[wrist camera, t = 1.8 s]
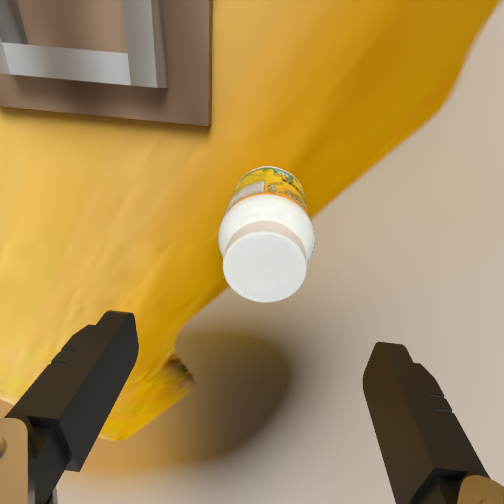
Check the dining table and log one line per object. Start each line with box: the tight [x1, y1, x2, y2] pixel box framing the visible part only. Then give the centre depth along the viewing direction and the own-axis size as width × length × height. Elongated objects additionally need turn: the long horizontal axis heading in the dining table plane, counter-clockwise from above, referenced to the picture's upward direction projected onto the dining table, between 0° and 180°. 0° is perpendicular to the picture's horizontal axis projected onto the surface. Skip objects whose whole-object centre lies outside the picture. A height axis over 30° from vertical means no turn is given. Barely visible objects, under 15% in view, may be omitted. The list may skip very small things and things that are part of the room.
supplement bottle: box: [218, 166, 315, 303], centre depth 18 cm, size 6×5×10 cm
